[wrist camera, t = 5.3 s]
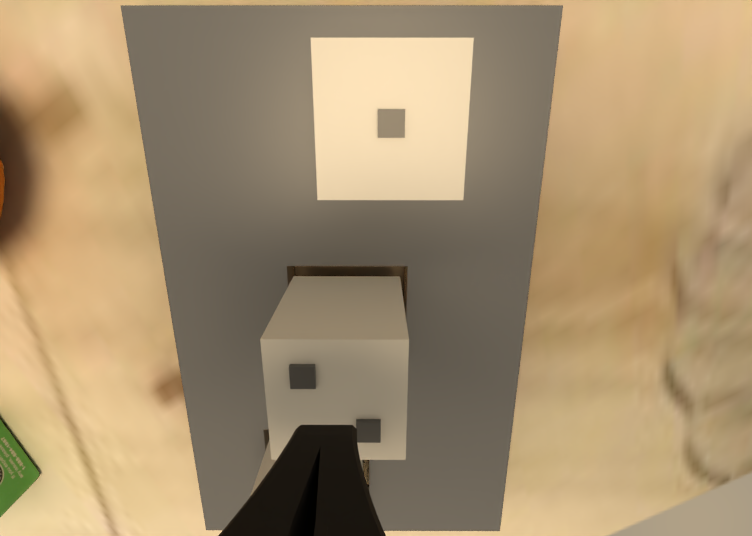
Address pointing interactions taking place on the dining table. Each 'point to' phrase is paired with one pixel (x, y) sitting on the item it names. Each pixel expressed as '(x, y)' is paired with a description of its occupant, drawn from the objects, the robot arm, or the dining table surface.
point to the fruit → (1, 186)
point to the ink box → (13, 470)
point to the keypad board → (343, 236)
